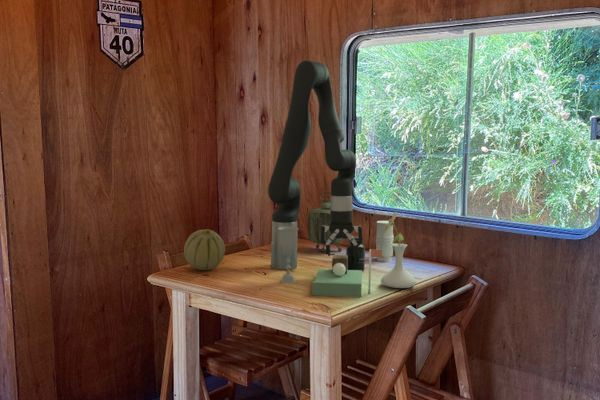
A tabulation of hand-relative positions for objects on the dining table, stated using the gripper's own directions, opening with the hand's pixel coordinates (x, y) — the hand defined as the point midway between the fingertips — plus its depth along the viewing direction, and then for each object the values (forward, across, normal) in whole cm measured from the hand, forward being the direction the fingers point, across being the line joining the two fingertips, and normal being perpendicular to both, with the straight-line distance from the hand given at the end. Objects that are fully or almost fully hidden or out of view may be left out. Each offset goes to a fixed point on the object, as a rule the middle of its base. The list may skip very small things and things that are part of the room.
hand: (341, 255), depth 208 cm
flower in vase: (+8, +18, -9) cm, 22 cm away
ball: (+3, 0, -7) cm, 8 cm away
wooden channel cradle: (+5, 0, 0) cm, 5 cm away
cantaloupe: (+7, -50, +5) cm, 50 cm away
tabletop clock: (+7, -8, +44) cm, 46 cm away
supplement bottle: (+8, +4, +13) cm, 16 cm away
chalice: (+8, -18, -7) cm, 20 cm away
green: (+8, -1, -10) cm, 13 cm away
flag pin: (+8, +11, -18) cm, 23 cm away
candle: (+8, +16, +31) cm, 36 cm away
